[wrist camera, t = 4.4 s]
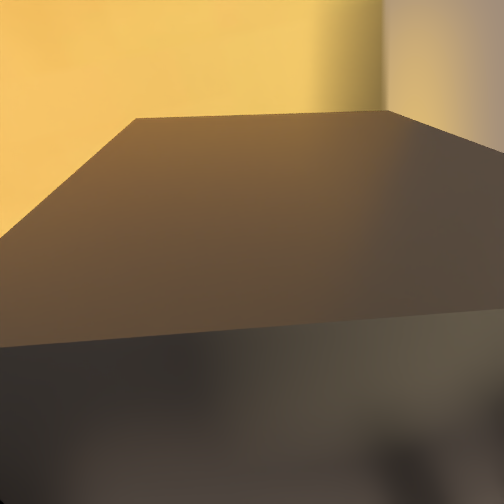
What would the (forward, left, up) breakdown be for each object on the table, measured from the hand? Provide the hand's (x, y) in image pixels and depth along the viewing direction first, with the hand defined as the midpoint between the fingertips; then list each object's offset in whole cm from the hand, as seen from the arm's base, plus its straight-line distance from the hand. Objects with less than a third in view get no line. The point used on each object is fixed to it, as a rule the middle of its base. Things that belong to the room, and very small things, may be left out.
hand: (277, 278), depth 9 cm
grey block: (0, 0, -3) cm, 3 cm away
